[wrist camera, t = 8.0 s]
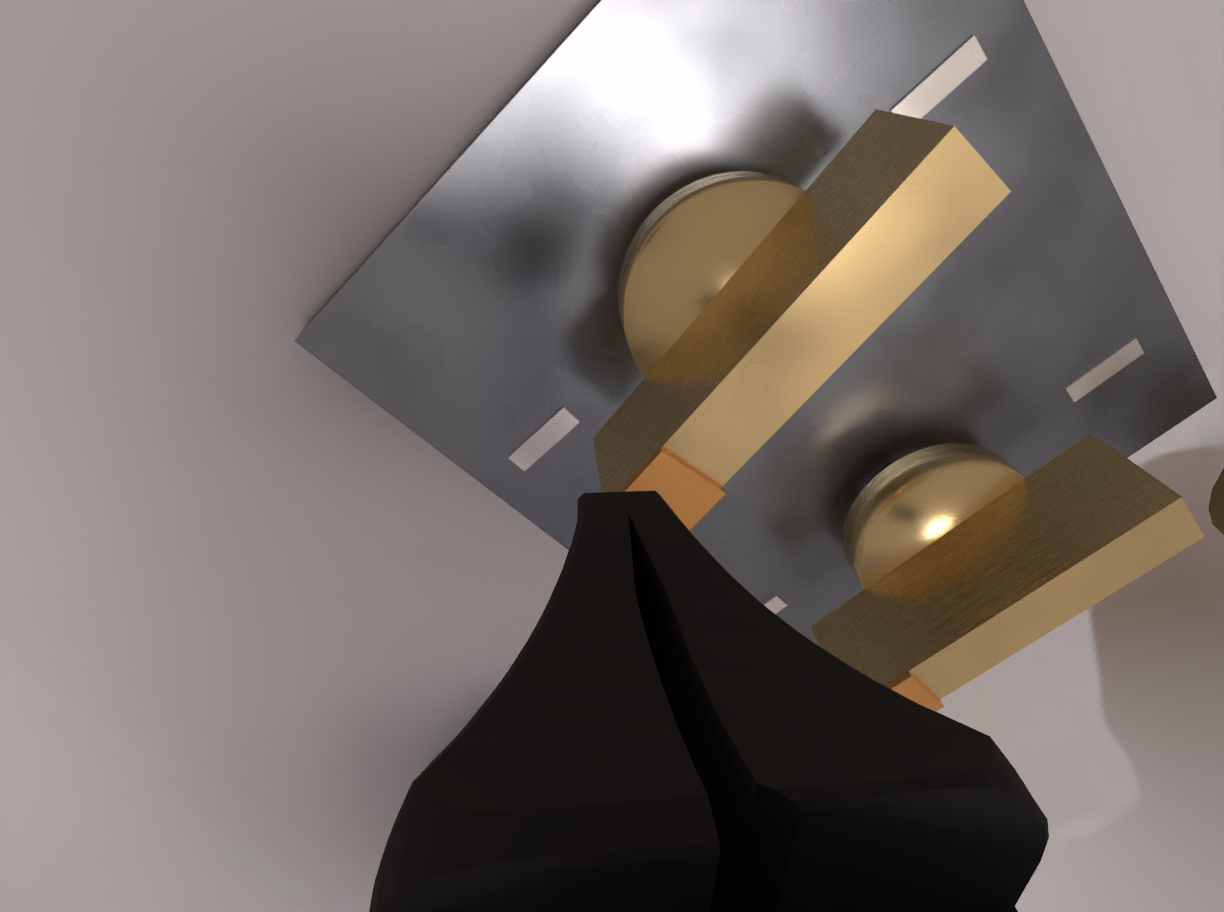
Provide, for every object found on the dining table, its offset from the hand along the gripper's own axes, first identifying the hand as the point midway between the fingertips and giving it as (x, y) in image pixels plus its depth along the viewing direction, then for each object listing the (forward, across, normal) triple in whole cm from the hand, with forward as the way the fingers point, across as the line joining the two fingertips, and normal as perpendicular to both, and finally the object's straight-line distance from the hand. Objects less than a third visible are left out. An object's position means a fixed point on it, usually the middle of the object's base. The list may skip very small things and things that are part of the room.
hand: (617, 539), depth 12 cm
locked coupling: (+8, -12, +6) cm, 16 cm away
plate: (+10, -7, +1) cm, 12 cm away
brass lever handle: (+8, -4, -2) cm, 9 cm away
